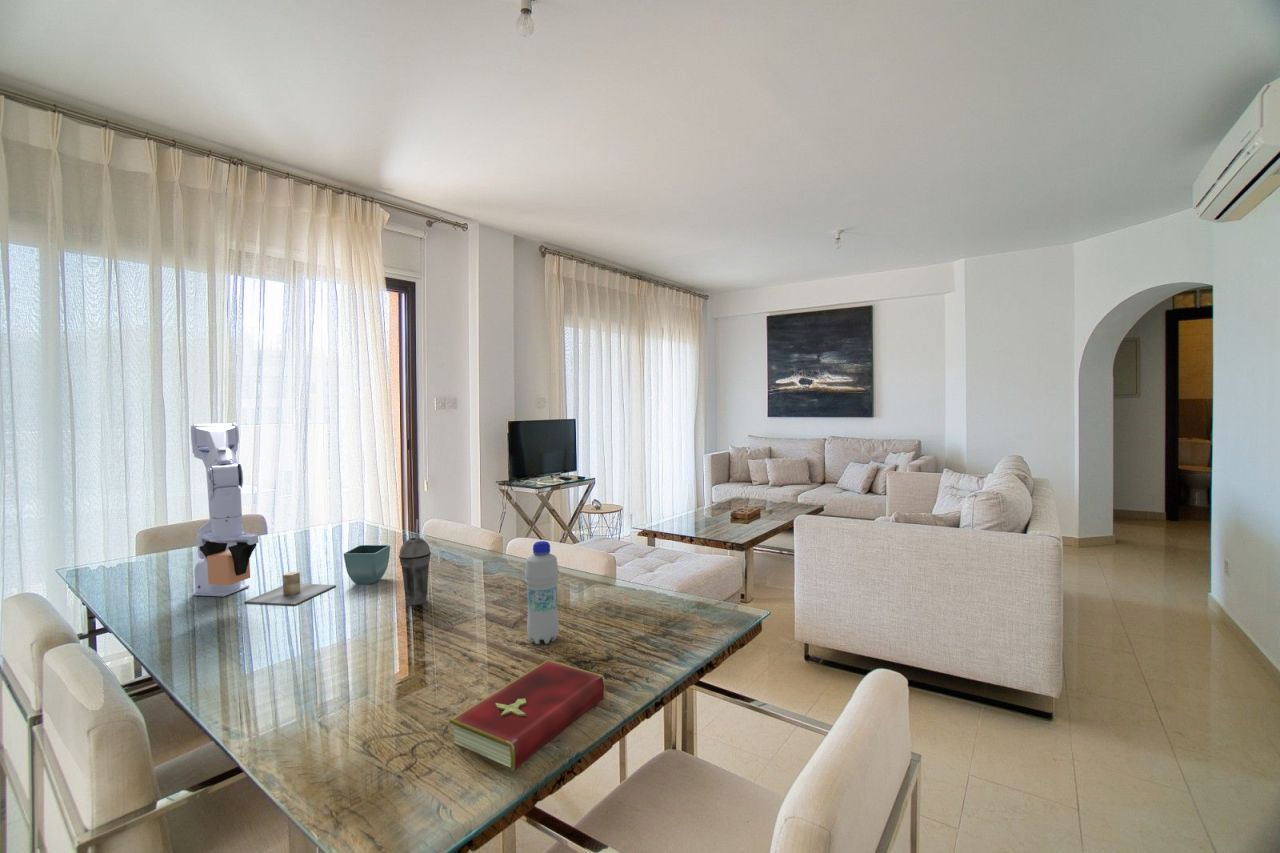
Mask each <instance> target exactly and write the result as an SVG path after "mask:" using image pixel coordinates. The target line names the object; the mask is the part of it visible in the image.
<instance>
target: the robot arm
mask: <svg viewBox="0 0 1280 853" xmlns="http://www.w3.org/2000/svg"><path fill="white" fill-rule="evenodd" d="M190 440H191V446H192V454H193V457H194V458H197V459H198V460H201V461H202V463H203V464H204V467H205V471H206V472H205V473H206V483H207V498H208V500H207V501H208V512H209V514H208V515H209V520H208V521H207V522H206V523H204V524H203V525H202V526H200V527H199V528H198V530H197V533H196V534H197V538H196V540H197V541H196V542H197V546H196V547H197V555H198V558H199V561H197V563H196V564H195V566H194V572H193V573H194V589H195V590H194V592H192V594H191V595H192V596H203V597H204V596H206V597H226V596H228V595H231V594H234V593H237V592H239V591H242V590H244V589H248V588H249V587H250V584H242V581H240V582H237V583H235V584H232V585H210V584H208V566H207V556H209V555H212V554H216V553H219V552H222V551H226V550H230V552H231V554H232V557H233V561H234V568H235V573H236V575H242V574H244V573H246V570H247V566H248V562H249V561H250V559H251V556H252V555H253V552H254V550H255V549H256V547H257V544H258V543H259V534H254V533H249V532H245V529H244V524H243V510H242V507H243V506H242V491H241V490H242V488H243V485H244V471H243V468H242V464H241V463H240V462H237V461H238V460H237V458H236V455H237V451H238V446H239V441H240V435H239V426H238V424H237V423H236V422H232V423H230V422H228V423H226V422H225V423H224V422H223V423H198V424H196V423H192V425H191V426H190Z"/></svg>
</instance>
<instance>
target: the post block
mask: <svg viewBox="0 0 1280 853" xmlns="http://www.w3.org/2000/svg"><path fill="white" fill-rule="evenodd" d="M336 587H337V585H336V584H320V583H319V584H315V583H301V576H300V572H299V571H290V572H287V573H284V574H282V585H281V586H279V587H276V588H274V589H272V590H269V591H267V592H264V593H262V594H259V595H258V596H255V597H252V598H250V599H247V600H245V601H244V604H253V605H255V604H256V605H257V604H258V605H272V606H273V605H274V606H291V607H292V606H294V607H295V606H297V605H299V604H302V603H304V602H306V601H309V600H310V599H313V598H315V597H317V596H319V595H321V594H323V593H325V592H327V591H330V590H332V589H334V588H336Z"/></svg>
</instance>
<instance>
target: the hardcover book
mask: <svg viewBox="0 0 1280 853" xmlns="http://www.w3.org/2000/svg"><path fill="white" fill-rule="evenodd" d="M606 690H607V688H606V679H605V677H604V674H599V673H596V672H593V671H589V670H585V669H582V668H579V667H575V666H571V665H568V664H565V663H561V662H558V661H555V660H550V659H547V660H545V661H543V662H542V663H540V664H538V665H537V666H535V667H534V668H532V669H530V670H529V671H527V672H526V673H524V674H522V675H521V676H519V677H517V678H515V679H514V680H512V681H511V682H509V683H507V684H505V685H504V686H502V687H501V688H500V689H498V690H495V691H494V692H493V693H491V694H490V695H488V696H486V697H485V698H483V699H482V700H479V701H478V702H476V703H475V704H473V705H472V706H470V707H468V708H466V709H465V710H463V711H462V712H460V713H458V714H457V715H455V716H453V717H452V718H450V719H449V723H450V724H452V725H453V738H454V739H453V740H454V741H453V742H454V744H455V745H457V746H460V747H462V748H465V749H466V750H469V751H472V752H473V753H476V754H478V755H480V756H483V757H485V758H487V759H489V760H492V761H494V762H496V763H498V764H501V765H503V766H506V767H507V766H508V768H509V771H510V770H512V771H511V772H513V771H515V770H516V769H517V768H518V767H520V766H521V765H522V764H523V763H525V762H526V761H527V760H528V759H530V758H531V757H532V756H534V755H535V754H536V753H537V752H538V751H539V750H541V749H542V748H543V747H544V746H546V745H547V744H548V743H549V742H551V741H553V739H554V738H556V737H557V736H558V735H559V734H561V733H562V732H563V731H565V730H566V729H567V728H568V727H570V726H571V725H572V724H573V723H575V722H576V721H577V720H578V719H579V718H581V717H582V716H583V715H584V714H586V713H587V712H588V711H590V710H591V709H592V708H593V707H595V706H596V705H597V704H598V703H599V702H601V701H602V700H603V699H605V697H606ZM519 765H520V766H519ZM515 768H516V769H515ZM514 769H515V770H514Z"/></svg>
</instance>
